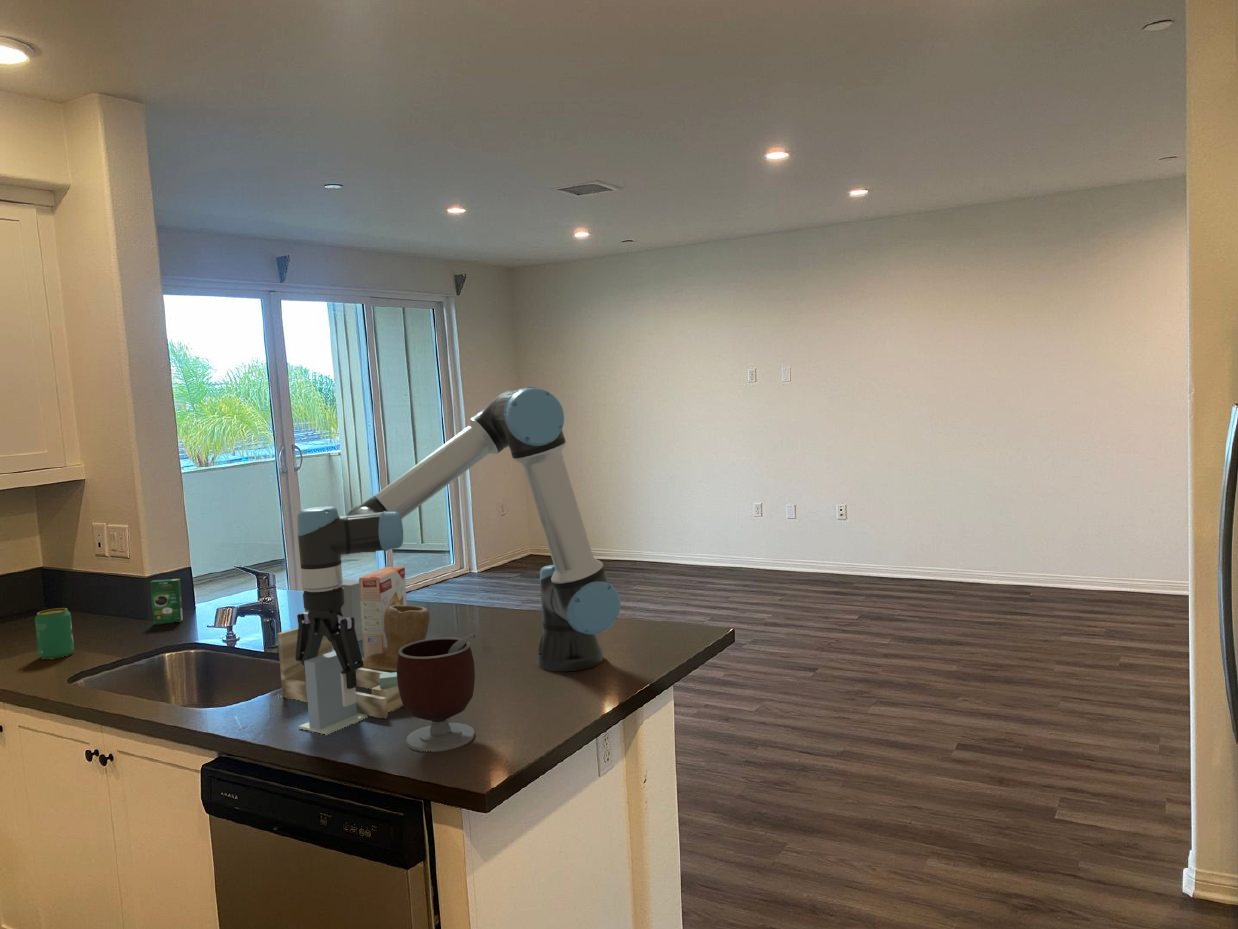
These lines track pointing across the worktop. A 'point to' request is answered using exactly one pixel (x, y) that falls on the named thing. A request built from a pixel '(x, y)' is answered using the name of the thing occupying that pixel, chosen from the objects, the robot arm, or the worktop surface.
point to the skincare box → (352, 604)
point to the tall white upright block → (325, 691)
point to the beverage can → (54, 633)
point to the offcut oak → (394, 704)
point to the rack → (296, 680)
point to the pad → (335, 724)
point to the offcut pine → (387, 692)
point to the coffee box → (166, 601)
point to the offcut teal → (388, 680)
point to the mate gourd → (437, 690)
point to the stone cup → (399, 634)
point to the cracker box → (379, 605)
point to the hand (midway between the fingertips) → (331, 700)
